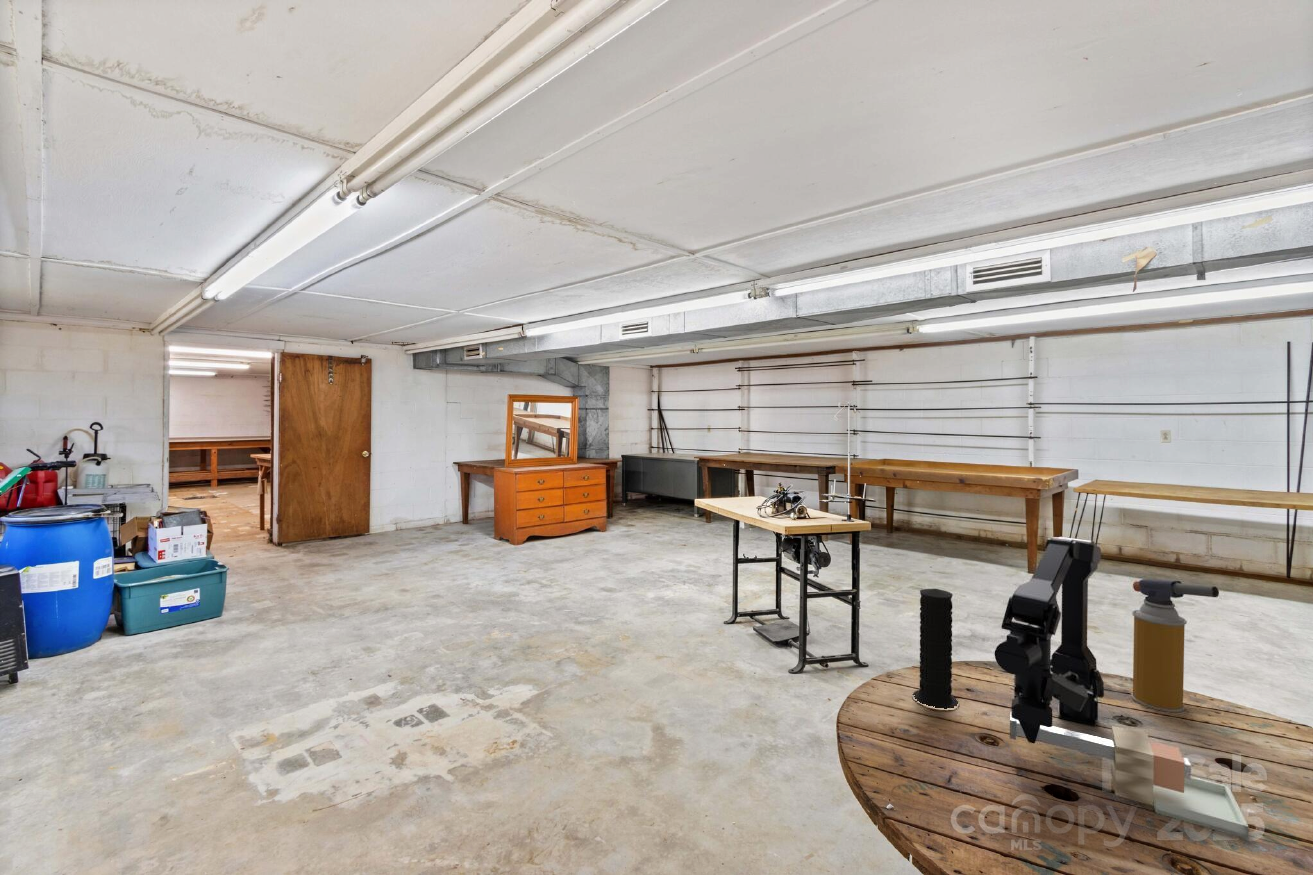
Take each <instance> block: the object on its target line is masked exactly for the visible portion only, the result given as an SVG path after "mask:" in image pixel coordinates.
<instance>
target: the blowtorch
mask: <svg viewBox="0 0 1313 875" xmlns="http://www.w3.org/2000/svg"><path fill="white" fill-rule="evenodd" d="M1132 589H1133V590H1134V591H1135V592H1137V593H1138V592H1140V593H1141V594H1142V595H1144V596H1145V598H1144V599H1143V604H1141V606H1140V608H1139V609H1135V610H1132V616H1133V658H1132V660H1133V662H1132V663H1133V666H1132V667H1133V668H1132V675H1133V677H1132V692H1131V694H1130V697H1131V698H1132V700H1133V701H1134V702H1136V703H1137V704H1140V705H1142V706H1144V707H1147V708H1149V709H1152V710H1156V711H1161V712H1167V713H1181V712H1184V711H1185V710H1186V707H1185V705H1184V677H1185V676H1184V675H1185V674H1184V672H1185V671H1184V669H1185V667H1184V666H1185V663H1184V662H1185V625H1187V624H1188V620H1186V618H1184V617H1183V616H1180V615H1179V612H1178V611H1177V610H1176V608H1175V607H1176V605H1175V603H1174V602H1173V601H1172V600H1171V598H1173V599H1178V598H1183V597H1184V595H1187V596H1188V595H1189V596H1198V597H1208V598H1218V597H1219V596H1220V595H1219V594H1220V590H1219V588H1218V587H1216V586H1213V585H1202V584H1201V585H1200V584H1190V583H1182V581H1180V580H1172V579H1156V578H1142V579H1140V580H1138V581H1134V582H1133V583H1132Z"/></svg>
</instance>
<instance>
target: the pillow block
mask: <svg viewBox="0 0 1313 875" xmlns="http://www.w3.org/2000/svg"><path fill="white" fill-rule="evenodd" d="M1111 740H1112V741H1114V745H1115V760H1111V759H1110V761H1111V762H1110V763H1111V764H1110V765H1111V766H1110V774H1111V779H1112V784H1113V790H1114V794H1115V796H1117V797H1121V798H1125V799H1128V800H1132V801H1136V802H1139V803H1142V804H1146V805H1150V806H1153V807H1154V805H1153V779H1154V754H1153V751H1152V748H1151V745H1150V742H1149V741H1150V738H1149V736H1148V734H1147V733H1144V732H1141V731H1136V730H1133V729H1132V730H1131V729H1126V728H1123V727H1120V726H1119V727H1118V726H1114V725H1111Z"/></svg>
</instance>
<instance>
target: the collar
mask: <svg viewBox="0 0 1313 875" xmlns="http://www.w3.org/2000/svg"><path fill="white" fill-rule="evenodd" d="M1149 742H1150V745H1151V748H1152V751H1153V754H1154V779H1153V785H1155V786H1159V787H1163V788H1167V789H1170V790H1174V791H1178V792H1182V793H1184V775H1185V762H1184V760H1183V758H1184V757H1183V755H1182V753H1181V751H1180V748H1179V747H1178V746H1177V747H1176V746H1172V745H1169V744H1168V745H1167V744H1164V743H1159V742H1155V741H1151V740H1149Z"/></svg>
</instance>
